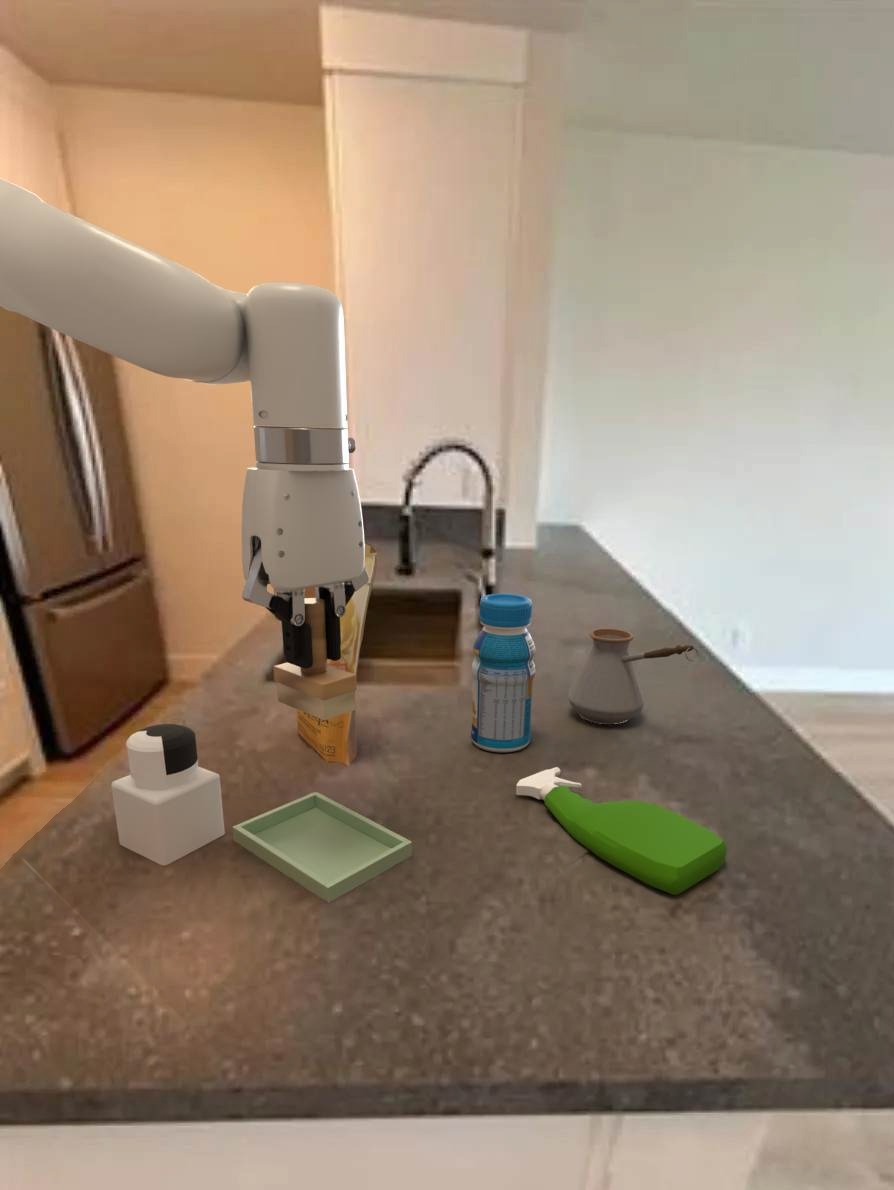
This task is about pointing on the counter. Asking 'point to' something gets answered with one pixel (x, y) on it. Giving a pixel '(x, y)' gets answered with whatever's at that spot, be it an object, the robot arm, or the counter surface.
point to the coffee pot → (612, 678)
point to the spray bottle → (632, 834)
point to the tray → (322, 845)
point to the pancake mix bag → (340, 732)
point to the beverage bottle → (503, 674)
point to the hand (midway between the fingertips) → (313, 659)
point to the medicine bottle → (166, 796)
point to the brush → (316, 675)
